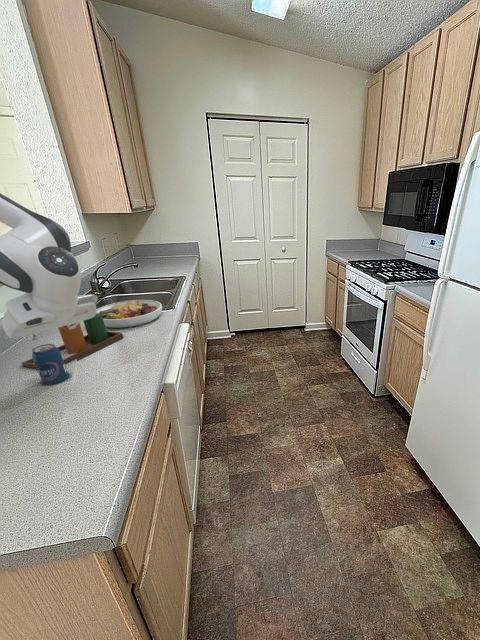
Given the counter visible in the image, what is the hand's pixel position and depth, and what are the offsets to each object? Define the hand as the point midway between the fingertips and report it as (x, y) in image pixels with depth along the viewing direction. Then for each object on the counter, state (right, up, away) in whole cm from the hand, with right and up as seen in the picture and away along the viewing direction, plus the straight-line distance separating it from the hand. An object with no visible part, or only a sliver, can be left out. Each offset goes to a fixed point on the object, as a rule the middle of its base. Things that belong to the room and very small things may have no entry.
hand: (52, 332), depth 90 cm
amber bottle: (-16, -5, +35) cm, 39 cm away
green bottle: (-13, 0, +44) cm, 46 cm away
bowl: (-14, +12, +68) cm, 71 cm away
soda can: (-10, -15, +15) cm, 23 cm away
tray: (-16, -5, +35) cm, 39 cm away
